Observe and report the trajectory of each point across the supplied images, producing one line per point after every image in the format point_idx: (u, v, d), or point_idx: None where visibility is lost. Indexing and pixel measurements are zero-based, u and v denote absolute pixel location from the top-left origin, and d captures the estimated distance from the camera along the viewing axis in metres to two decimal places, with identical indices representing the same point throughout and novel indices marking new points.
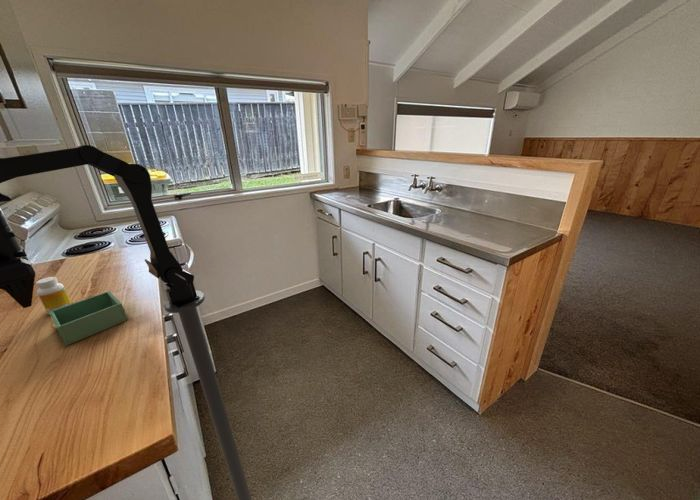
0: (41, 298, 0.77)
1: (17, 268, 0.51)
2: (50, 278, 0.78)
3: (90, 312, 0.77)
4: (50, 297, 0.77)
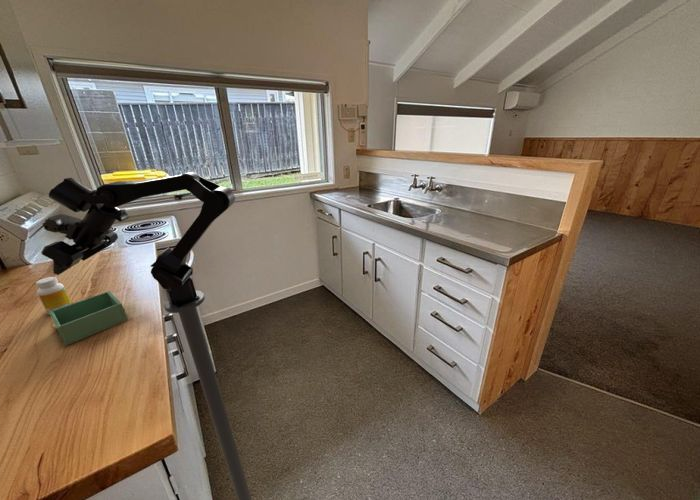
0: (41, 298, 0.77)
1: (63, 258, 0.66)
2: (50, 278, 0.78)
3: (90, 312, 0.77)
4: (50, 297, 0.77)
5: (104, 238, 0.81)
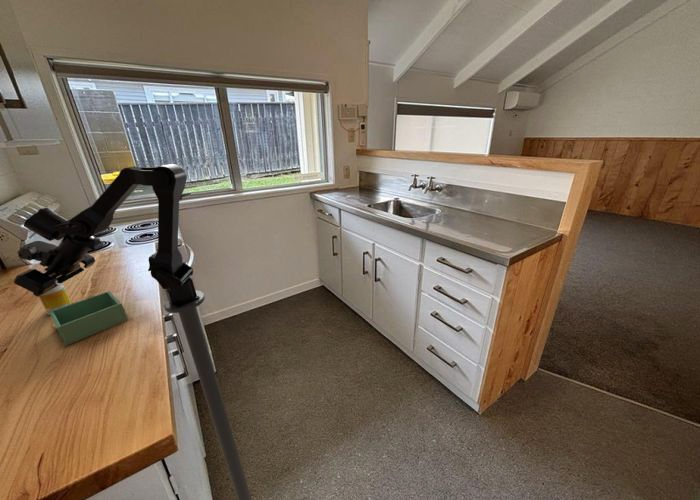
0: (41, 298, 0.77)
1: (34, 286, 0.69)
2: None
3: (90, 312, 0.77)
4: (50, 297, 0.77)
5: None
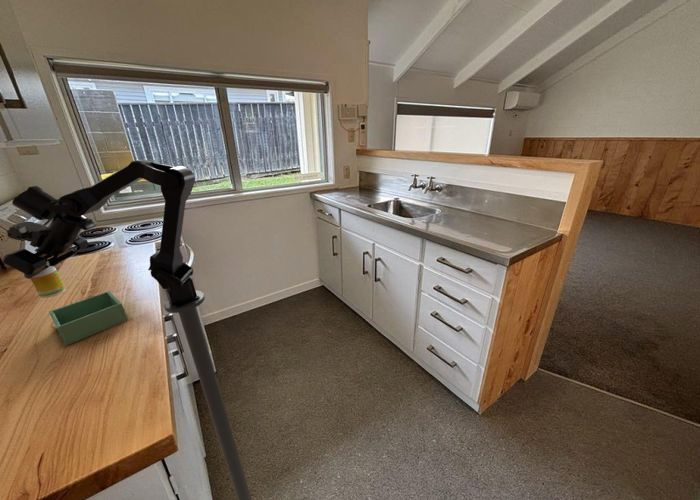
0: (32, 281, 0.75)
1: (24, 266, 0.67)
2: None
3: (90, 312, 0.77)
4: (41, 279, 0.75)
5: (69, 247, 0.80)
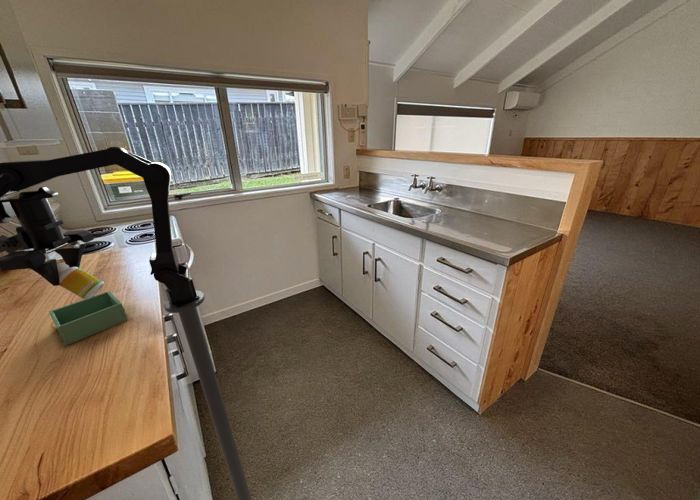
0: (64, 286, 0.68)
1: (18, 261, 0.58)
2: None
3: (90, 312, 0.77)
4: (68, 279, 0.68)
5: (73, 242, 0.72)
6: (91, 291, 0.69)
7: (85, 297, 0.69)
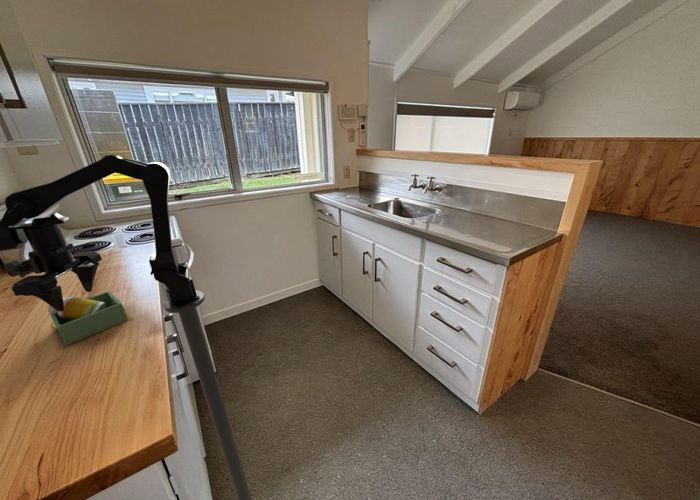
0: (67, 317, 0.70)
1: (31, 286, 0.60)
2: None
3: None
4: (67, 311, 0.69)
5: (87, 261, 0.75)
6: None
7: None
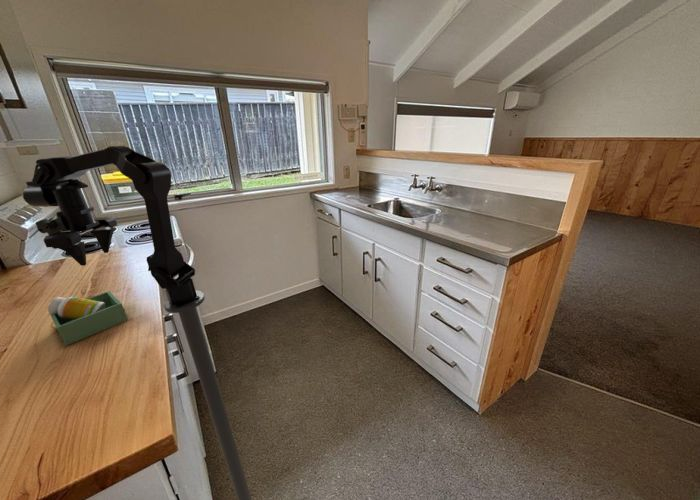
0: (67, 317, 0.70)
1: (60, 239, 0.70)
2: None
3: None
4: (67, 311, 0.69)
5: (105, 225, 0.85)
6: None
7: None
